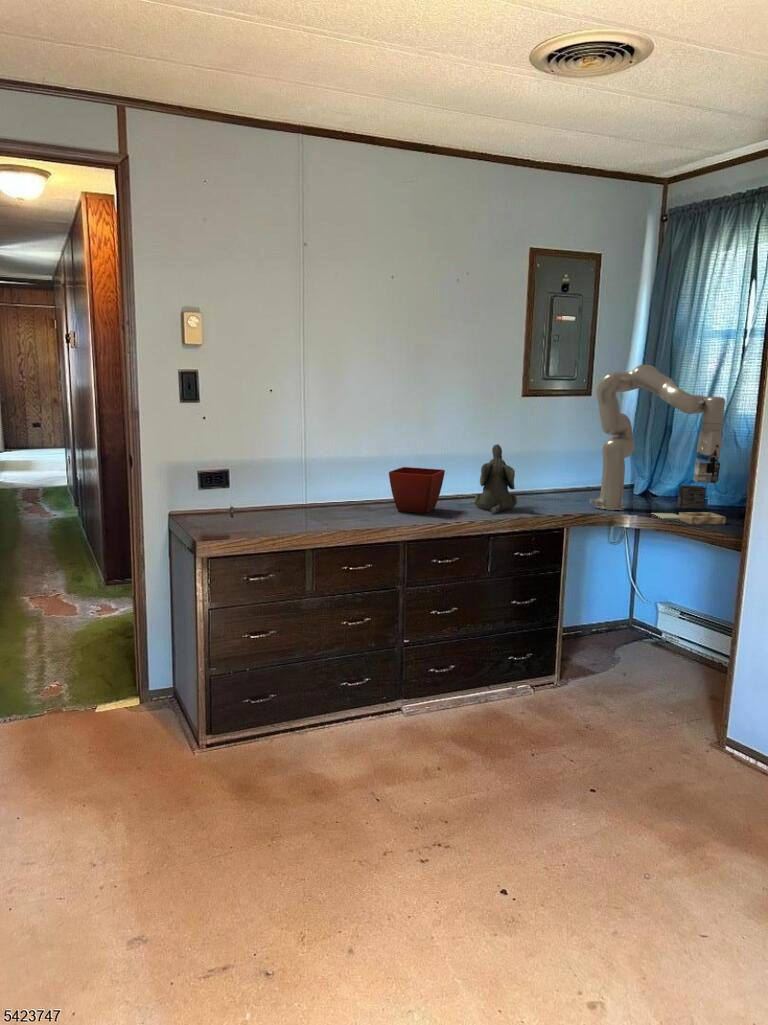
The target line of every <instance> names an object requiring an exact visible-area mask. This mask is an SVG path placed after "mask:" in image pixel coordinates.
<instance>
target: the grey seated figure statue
mask: <svg viewBox="0 0 768 1025" xmlns="http://www.w3.org/2000/svg"><path fill="white" fill-rule="evenodd" d="M491 452H492V457H493V458H492V459H490V460H489V462H486V463H483V464H482V466H481V468H480V478H479V484H480V487H482V492H481V493H477V494H476V495H475V497H474V505H475V506H476V507H477V508H479V509H482V510H488V511H490V513H491V514H493V513H495V514H497V513H498V511H500V512H502V511H504V510H510V509H513V508H514V507H515V506H516V505H517V503H518V502H517V501H518V498H517V494H515V493H514V494H513V493H510V492H509V489H510V490H515V489H516V487H515V472H516V471H515V469H514V468H513V467H511V465H507V463H506V462H505V460H503V450H502V447H501V445H499V444H498V443H497V444H494V445H493V446H492V450H491Z"/></svg>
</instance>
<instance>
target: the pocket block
mask: <svg viewBox="0 0 768 1025" xmlns="http://www.w3.org/2000/svg"><path fill="white" fill-rule="evenodd" d="M678 515H679V518H678V519H677V520H678V521H681V522H684V523H687V524H689V525H726V519H727V517H726V516H724V515H720V514H718V513H715V512H707V511H706V512H705V511H702V512H682V511H681V512H678Z"/></svg>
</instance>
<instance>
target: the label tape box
mask: <svg viewBox="0 0 768 1025" xmlns="http://www.w3.org/2000/svg"><path fill="white" fill-rule="evenodd" d="M711 456H714V455H711ZM712 458H713V457H711V459H712ZM707 463H709V462H708V456H703V455H701V454H700V452H697V451H696V457H695V464H694V471H693V480H692V481H693V482H695V483H697V484H698V483H702V484H704V483H705V484H706V483H707V484H708V483H709V484H718V483H719V476H720V469H721V468H720V467H721V462H720V461H719V459H718V460H717V461H716V464H715V469H714V473H706V470H707Z"/></svg>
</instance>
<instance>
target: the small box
mask: <svg viewBox="0 0 768 1025" xmlns="http://www.w3.org/2000/svg"><path fill="white" fill-rule="evenodd" d="M706 493H707V487H706V486H703V485H687V484H685V485H684V484H683V485H682V484H679V485H678V494H677V495H678V496H677V503H676V504H677V505H676V508H678V509H679V510H688V509H700V510H699V511H704V510H705V503H706V496H707V495H706Z"/></svg>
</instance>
